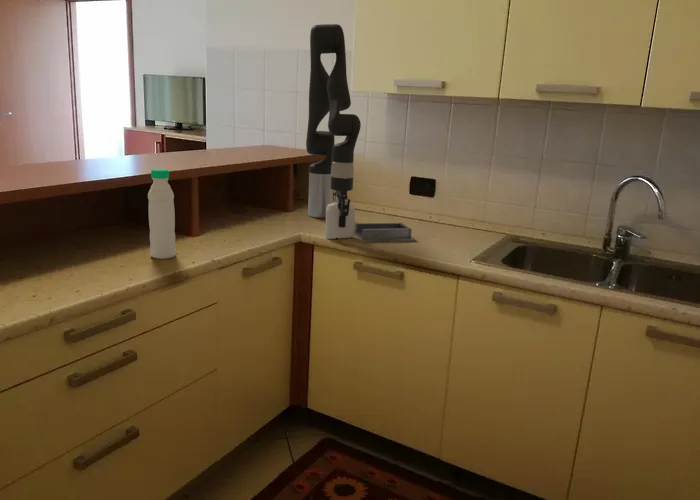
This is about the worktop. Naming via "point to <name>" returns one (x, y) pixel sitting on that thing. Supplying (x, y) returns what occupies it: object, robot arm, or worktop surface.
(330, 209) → the photo printer
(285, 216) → the worktop surface
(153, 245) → the water bottle
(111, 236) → the worktop surface
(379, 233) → the bracket
